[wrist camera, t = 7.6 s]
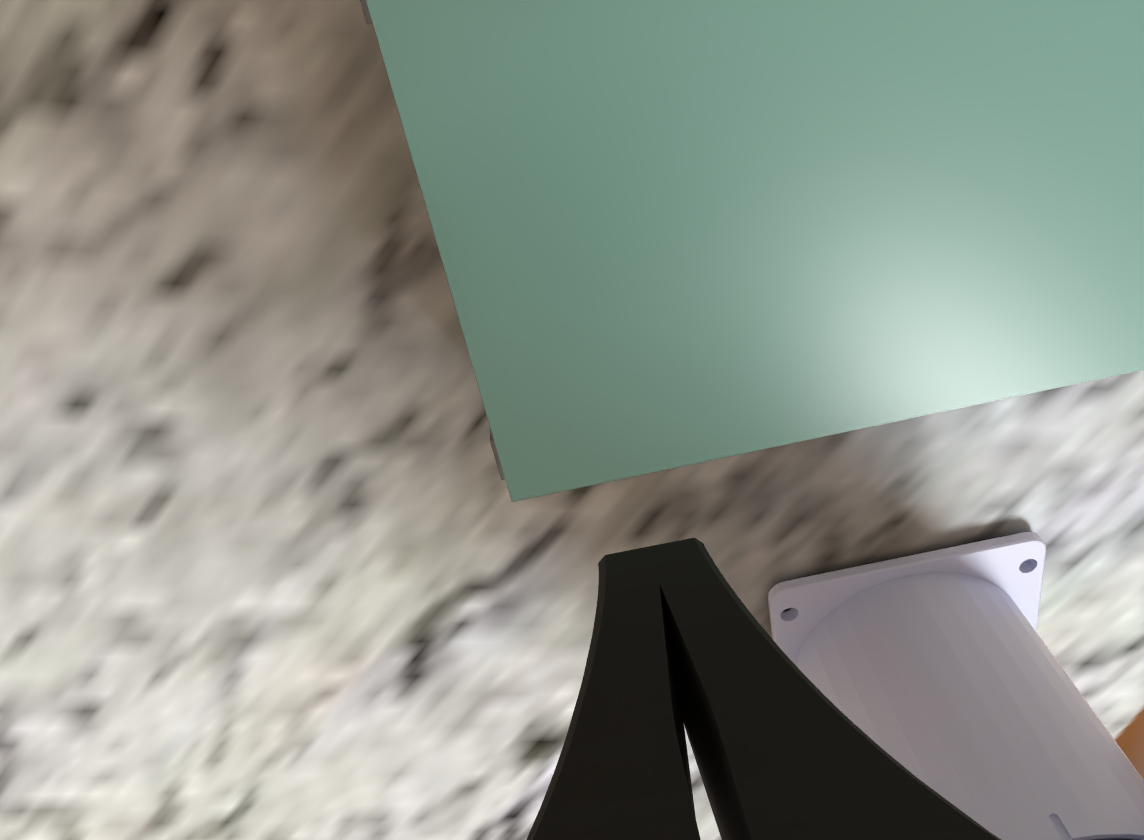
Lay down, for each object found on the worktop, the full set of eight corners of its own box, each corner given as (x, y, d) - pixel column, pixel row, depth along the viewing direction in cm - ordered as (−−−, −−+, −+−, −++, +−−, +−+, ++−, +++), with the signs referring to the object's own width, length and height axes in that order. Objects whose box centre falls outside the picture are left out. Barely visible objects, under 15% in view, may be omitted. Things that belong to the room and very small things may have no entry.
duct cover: (1555, 259, 18) (1596, 274, 17) (511, 479, 19) (511, 501, 18) (1838, -422, 13) (1917, -441, 12) (351, -79, 13) (343, -77, 13)
